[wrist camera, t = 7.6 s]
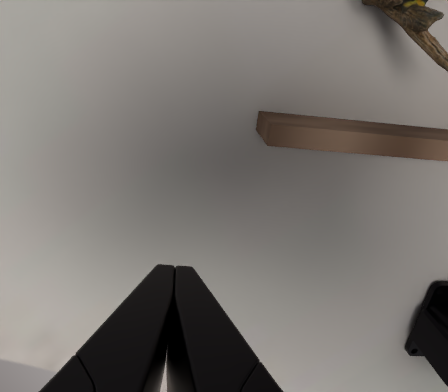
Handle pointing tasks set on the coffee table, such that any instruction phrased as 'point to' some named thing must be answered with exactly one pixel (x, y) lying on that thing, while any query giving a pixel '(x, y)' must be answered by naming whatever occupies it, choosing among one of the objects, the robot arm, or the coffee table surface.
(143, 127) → the coffee table surface
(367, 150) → the walnut bay
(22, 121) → the coffee table surface
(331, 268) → the coffee table surface
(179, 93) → the coffee table surface
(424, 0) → the eagle figurine
